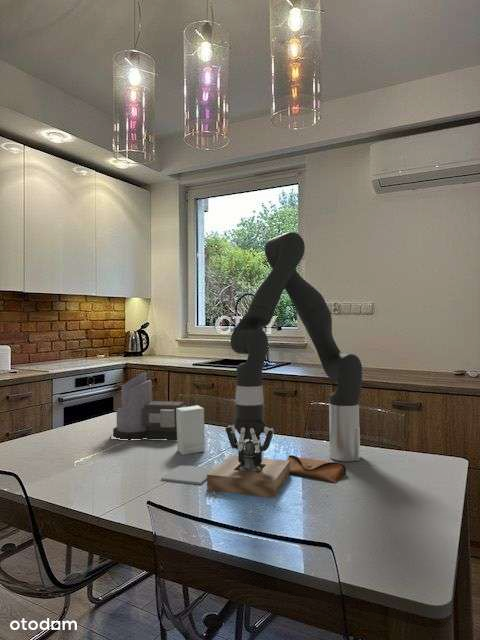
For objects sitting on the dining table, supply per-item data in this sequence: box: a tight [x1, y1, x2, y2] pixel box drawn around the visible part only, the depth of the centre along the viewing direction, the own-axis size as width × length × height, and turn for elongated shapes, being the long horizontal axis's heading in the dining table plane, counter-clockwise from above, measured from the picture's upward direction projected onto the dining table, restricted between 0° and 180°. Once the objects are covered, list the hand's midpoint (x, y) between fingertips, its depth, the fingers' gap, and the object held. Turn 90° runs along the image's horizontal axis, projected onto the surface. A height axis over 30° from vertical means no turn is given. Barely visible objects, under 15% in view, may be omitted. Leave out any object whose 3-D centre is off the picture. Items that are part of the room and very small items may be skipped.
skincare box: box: [176, 404, 206, 456], centre depth 155 cm, size 8×6×15 cm
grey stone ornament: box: [239, 439, 261, 473], centre depth 126 cm, size 6×6×12 cm
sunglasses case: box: [286, 454, 347, 484], centre depth 132 cm, size 18×7×7 cm
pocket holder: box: [206, 454, 291, 499], centre depth 126 cm, size 18×18×4 cm
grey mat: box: [160, 464, 215, 486], centre depth 131 cm, size 12×12×1 cm
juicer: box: [112, 371, 187, 440], centre depth 177 cm, size 30×16×24 cm, turn 81°
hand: (250, 464), depth 126 cm, fingers closed on grey stone ornament, 3 cm apart
